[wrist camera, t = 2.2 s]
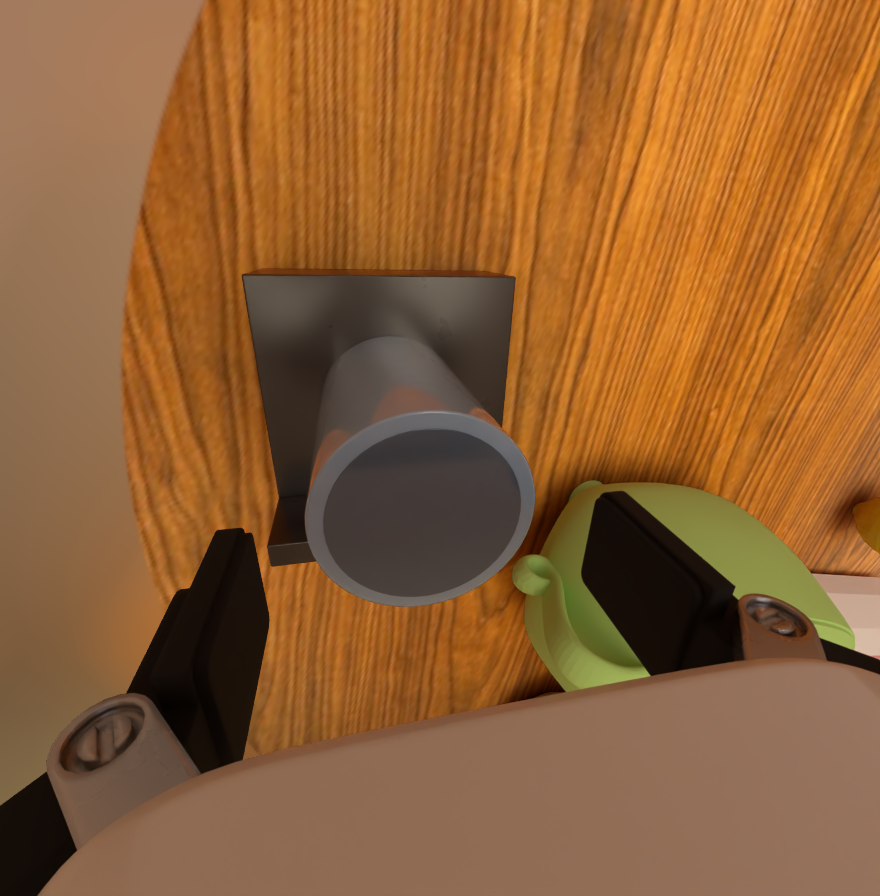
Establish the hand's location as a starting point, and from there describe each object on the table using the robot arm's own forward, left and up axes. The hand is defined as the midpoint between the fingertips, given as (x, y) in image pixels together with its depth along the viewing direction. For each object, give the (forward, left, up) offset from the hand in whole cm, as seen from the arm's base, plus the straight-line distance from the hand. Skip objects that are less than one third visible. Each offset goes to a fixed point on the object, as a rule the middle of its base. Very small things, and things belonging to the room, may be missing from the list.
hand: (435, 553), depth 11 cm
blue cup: (0, 0, -11) cm, 11 cm away
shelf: (0, 0, -16) cm, 16 cm away
